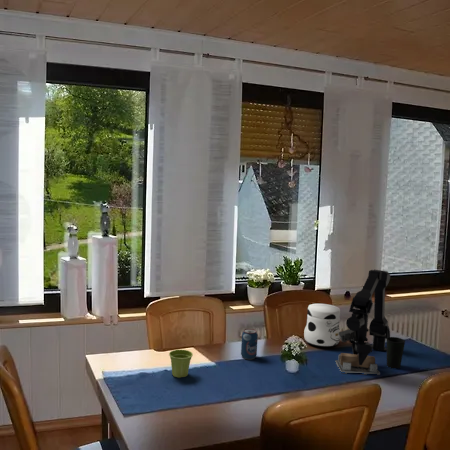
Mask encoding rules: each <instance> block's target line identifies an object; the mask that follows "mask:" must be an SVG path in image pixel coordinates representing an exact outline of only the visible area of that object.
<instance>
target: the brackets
mask: <svg viewBox="0 0 450 450" xmlns="http://www.w3.org/2000/svg"><path fill="white" fill-rule="evenodd" d="M340 358H341V354H338V359H336V360H335V362H336V363H335V364H336V366H337V368H338V367H339V368H338V370H339V369H340V370H339V371H341V372H345V373H344V374H347V373H364V374H363V375H367V374H377V375H376V376H380V375H381V372H380V371H379V370H378V363H375V364H370V366H369V368H365V367H356V366H351V363H349V362H343V365H341V364H340ZM341 372H340V373H341Z"/></svg>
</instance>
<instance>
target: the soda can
mask: <svg viewBox="0 0 450 450" xmlns="http://www.w3.org/2000/svg"><path fill="white" fill-rule="evenodd" d="M258 336H259V335H258V333H257V330H256V329H253V328H244V329H243V331H242V333H241V345H240V346H241V349H240V355H241V357H242V358H243V359H244V360H250V361H251V360H255V359H256V357H257V355H258V339H259V337H258Z"/></svg>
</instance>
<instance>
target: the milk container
mask: <svg viewBox="0 0 450 450" xmlns="http://www.w3.org/2000/svg"><path fill="white" fill-rule="evenodd" d="M306 313H307V315H306V323H305V324H306V325H305V327H304V331H303V332H304V333H303V336H304V341H306V343H308V344H310V345H311V346H315V347H320V348H332V347H336V346H338V345H339V344H340V341H341V339H340V336H339V332H341V330H340V329H341V328H340V322H341V308H340V307H338V306H336V305H334V304H327V303H312V304H311V303H310V304H309V305H308V307H307V312H306Z"/></svg>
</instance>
